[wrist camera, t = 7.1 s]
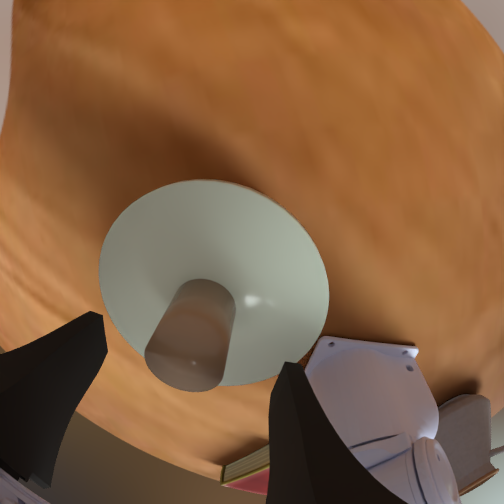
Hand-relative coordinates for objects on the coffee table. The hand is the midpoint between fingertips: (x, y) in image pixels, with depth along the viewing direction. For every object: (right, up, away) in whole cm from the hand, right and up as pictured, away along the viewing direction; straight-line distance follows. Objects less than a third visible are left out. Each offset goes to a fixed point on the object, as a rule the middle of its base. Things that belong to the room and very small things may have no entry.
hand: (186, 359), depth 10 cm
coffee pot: (+31, -14, +13) cm, 37 cm away
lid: (0, +2, +4) cm, 4 cm away
